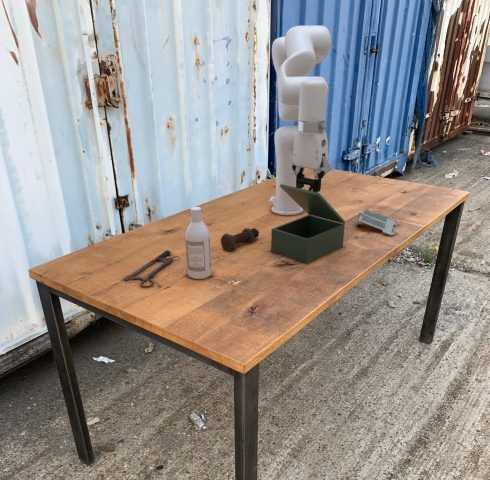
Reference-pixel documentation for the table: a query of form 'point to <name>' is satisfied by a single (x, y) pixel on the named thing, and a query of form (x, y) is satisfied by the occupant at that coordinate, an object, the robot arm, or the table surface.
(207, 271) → the bath foam
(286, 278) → the table surface
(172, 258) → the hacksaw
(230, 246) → the bolt
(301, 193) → the chest lid
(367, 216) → the metal bracket
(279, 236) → the parts chest
